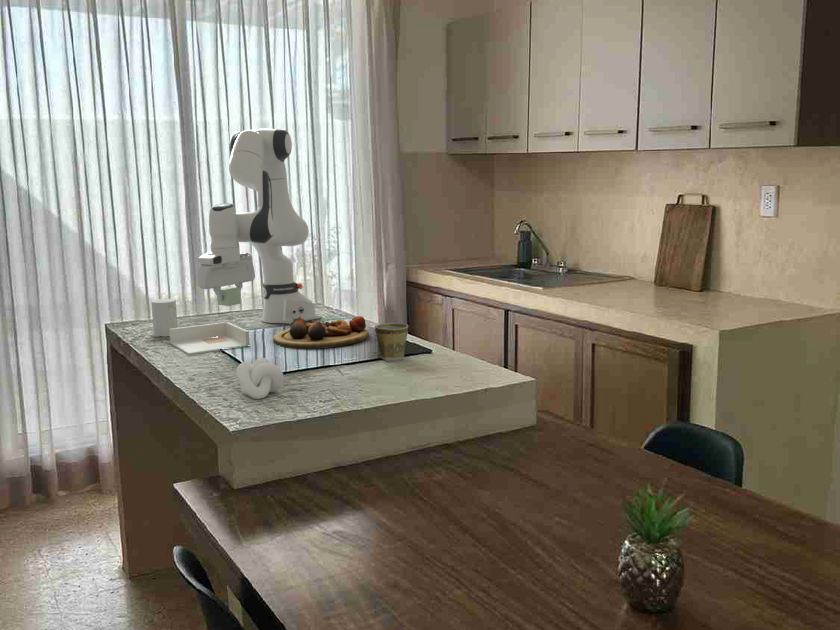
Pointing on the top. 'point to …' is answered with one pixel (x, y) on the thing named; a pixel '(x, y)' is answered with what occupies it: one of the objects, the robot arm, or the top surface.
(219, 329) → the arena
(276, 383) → the white knot sculpture
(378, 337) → the ceramic cup
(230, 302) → the cube
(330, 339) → the wooden plate with food
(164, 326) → the cup
